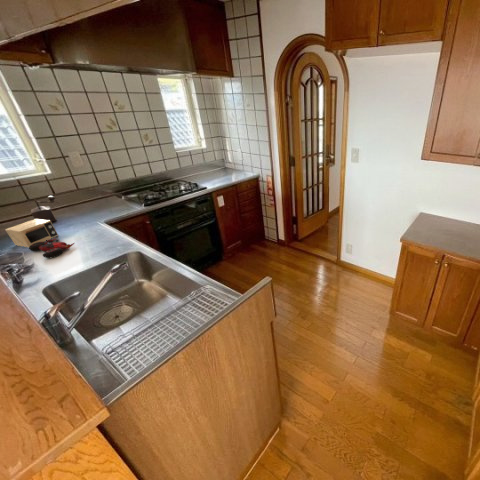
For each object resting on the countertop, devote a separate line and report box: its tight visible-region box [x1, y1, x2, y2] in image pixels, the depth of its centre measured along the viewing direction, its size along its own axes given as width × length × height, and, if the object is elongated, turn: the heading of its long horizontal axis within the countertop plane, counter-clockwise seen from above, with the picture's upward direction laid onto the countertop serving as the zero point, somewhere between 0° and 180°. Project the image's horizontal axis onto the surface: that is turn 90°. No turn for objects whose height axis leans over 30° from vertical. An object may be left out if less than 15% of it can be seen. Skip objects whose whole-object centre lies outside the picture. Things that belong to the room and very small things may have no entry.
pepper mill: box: [30, 195, 57, 223], centre depth 190 cm, size 16×11×18 cm
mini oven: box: [4, 218, 59, 248], centre depth 163 cm, size 13×16×11 cm
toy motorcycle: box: [28, 237, 75, 259], centre depth 155 cm, size 25×5×16 cm
